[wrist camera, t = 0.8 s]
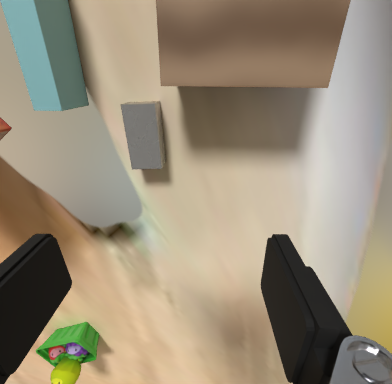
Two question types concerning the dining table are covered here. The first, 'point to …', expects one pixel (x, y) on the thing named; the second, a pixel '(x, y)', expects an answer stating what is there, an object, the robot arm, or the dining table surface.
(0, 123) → the cracker box
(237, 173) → the dining table surface
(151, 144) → the bar
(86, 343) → the fruit basket
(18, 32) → the block
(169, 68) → the board
